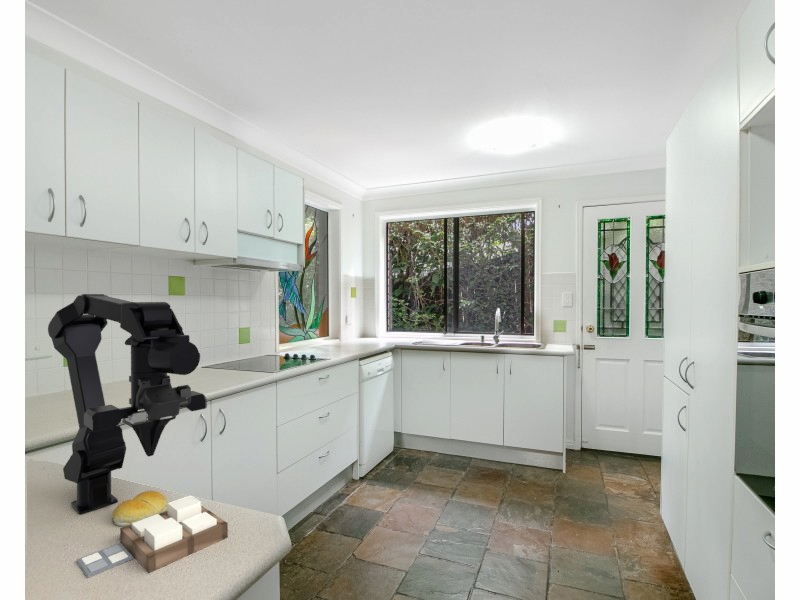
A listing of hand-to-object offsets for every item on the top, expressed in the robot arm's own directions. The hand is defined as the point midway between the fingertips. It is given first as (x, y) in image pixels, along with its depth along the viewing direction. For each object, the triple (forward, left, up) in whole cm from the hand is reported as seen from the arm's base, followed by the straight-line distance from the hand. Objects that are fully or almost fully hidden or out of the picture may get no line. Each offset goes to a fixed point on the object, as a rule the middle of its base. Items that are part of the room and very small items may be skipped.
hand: (149, 455), depth 78 cm
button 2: (+11, -2, -11) cm, 16 cm away
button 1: (+5, -2, -13) cm, 14 cm away
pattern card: (+5, -9, -13) cm, 17 cm away
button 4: (+11, +4, -13) cm, 17 cm away
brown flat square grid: (+8, +1, -13) cm, 15 cm away
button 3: (+5, +4, -12) cm, 13 cm away
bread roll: (-6, +1, -14) cm, 15 cm away
